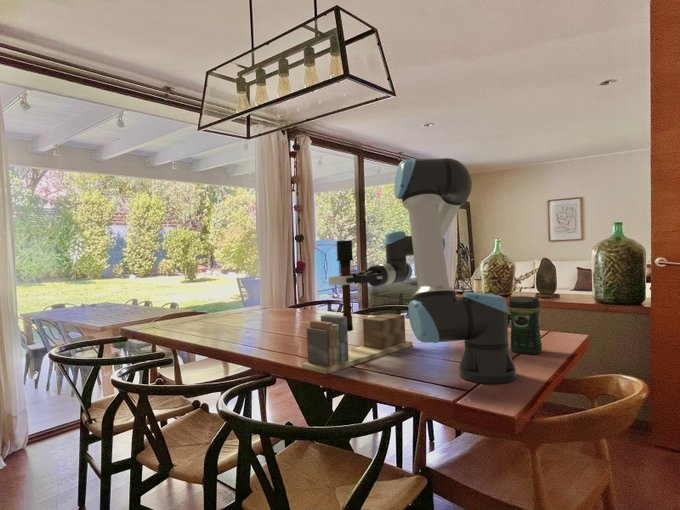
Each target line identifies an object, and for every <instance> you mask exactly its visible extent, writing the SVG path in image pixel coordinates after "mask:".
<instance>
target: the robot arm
mask: <svg viewBox="0 0 680 510" xmlns="http://www.w3.org/2000/svg"><path fill="white" fill-rule="evenodd" d="M393 188H394V189H393V191H394V196H395V198H396V199H397V200H401V201H402V202H401V203H402V207H403V208H404V209H406V210H407V211H408V217H409V224H410V226H409V227H410V233H411V235H406V232H405V231H404V230H401V231H398V230H396V231H388V232H386V233H385V243H384V246H385V255H386V256H385V258H386V259H385V262H386V263H382V264H373V265H370V266H369V267H368V268H367V269H366V270H362V271H359V272H355V271H354V272H350V276H344V277H341V274H339V275H335V276H334V275H333V276H328V285H329V286H336V285H337V286H338V287H339V286H341V287H342V285H348V284H350V285H353V284H355V285H356V284H360V285H362V284H367V283H368V284H369V285H370V286H372V287H379V286H380V287H382V286H384V287H387V286H388V285H391V284H392V285H393V284H399V283H400V284H402V283H403V282H407V281H409V280H410V279H411V278H412V275H413V269H412V267H411V265H410V264H409V263H408V262H407V257H411V256H412V257H413V258H414V266H415V276H416V283H417V290H416V291H415V293H414V294H413V299H412V300H411V301H410V302H409V303H408V307H407V309H408V312H407V313H408V319H409V323H410V327H411V330H412V332H413V335H414V336H415V337H416V339H417V340H418V341H419V342H421V343H424V344H425V343H427V344H428V343H429V344H430V343H432V344H433V343H434V344H438V343H443V342H444V343H446V342H458V341H459V342H460V341H464V349H463V353H462V355H461V360H460V362H459V367H458V368H459V369H458V371H459V373H458V374H459V377H460V378H462V379H463V380H466V381H469V382H472V383H473V382H475V383H479V384H489V385H490V384H493V385H495V384H505V383H510V382H513V381H514V380H516V378H517V368H516V366H515V363H514V361H513V358H512V355H511V352H510V348H509V325H508V323H509V322H508V321H509V320H508V314H509V312H508V311H509V310H508V305H507V304H508V303H507V300H506V298H505V297H503V296H501V295H498V294H493V293H485V292H476V291H475V292H474V291H473V292H472V291H465V292H463V293H462V297H460V298H459V297H457V293H456V290H455V289H454V288H452V287H451V286H450V283H449V277H448V269H447V261H446V256H445V248H446V239H445V235H446V234H447V231H448V230H449V228H450V226H451V224H452V223H453V220H454V219H455V217H456V214H457V213H458V211H459V209H460V207H461V206H462V205H464V204H465V203H467V201H468V199H469V198H470V195H471V192H472V188H473V181H472V176H471V174H470V172H469V170H468V168H467V167H466V166H465V165H464V164H463V163H462V162H460V161H459V160H457V159H454V158H449V157H448V158H447V157H445V158H411V159H410V158H409V159H404V160H401V161H400V163H399V164H398V166H397V169H396V173H395V176H394V187H393Z"/></svg>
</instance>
